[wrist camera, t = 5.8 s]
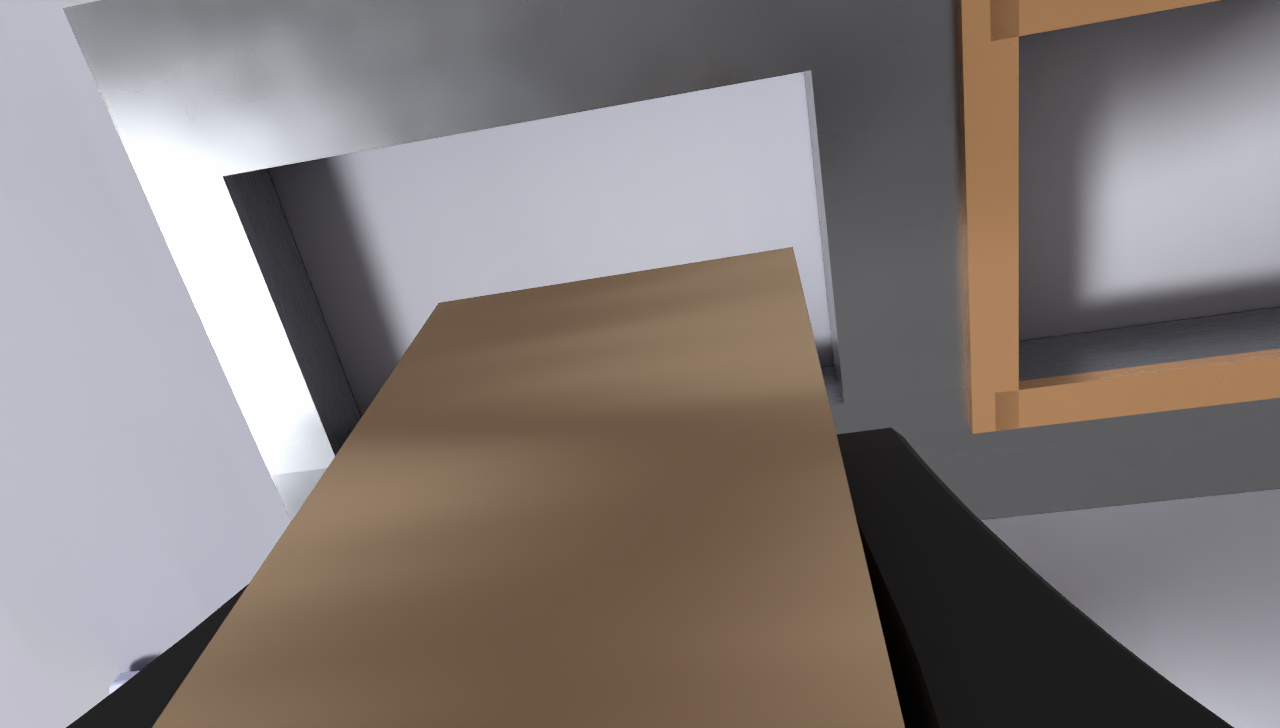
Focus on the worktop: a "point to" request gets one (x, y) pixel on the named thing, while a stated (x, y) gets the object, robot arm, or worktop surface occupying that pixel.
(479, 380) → the oak peg
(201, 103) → the rail plate
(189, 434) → the worktop surface
